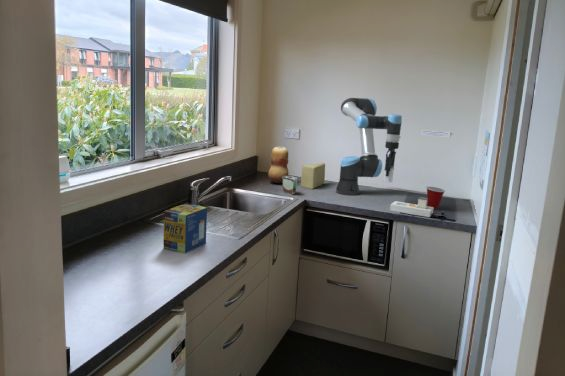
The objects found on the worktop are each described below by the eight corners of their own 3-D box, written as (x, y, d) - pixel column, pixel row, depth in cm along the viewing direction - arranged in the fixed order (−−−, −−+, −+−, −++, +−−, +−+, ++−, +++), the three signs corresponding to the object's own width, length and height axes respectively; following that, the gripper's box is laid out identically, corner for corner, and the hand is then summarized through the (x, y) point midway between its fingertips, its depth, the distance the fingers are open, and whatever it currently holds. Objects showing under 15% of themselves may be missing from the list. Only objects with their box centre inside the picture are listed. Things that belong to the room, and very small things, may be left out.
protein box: (162, 248, 185) (162, 210, 182) (185, 238, 199) (186, 202, 196) (184, 254, 181) (185, 215, 178) (206, 242, 195) (207, 206, 191)
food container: (301, 194, 291) (302, 178, 289) (293, 195, 288) (294, 179, 286) (289, 190, 301) (290, 175, 299) (281, 191, 297) (282, 175, 295)
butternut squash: (271, 185, 312) (273, 148, 307) (265, 181, 324) (267, 145, 319) (291, 185, 317) (293, 148, 312) (283, 181, 329) (286, 145, 324)
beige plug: (416, 213, 262) (418, 198, 260) (417, 212, 265) (419, 196, 264) (424, 215, 260) (426, 199, 258) (425, 213, 264) (427, 198, 262)
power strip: (389, 210, 266) (390, 203, 265) (394, 206, 275) (395, 199, 274) (444, 219, 253) (445, 212, 252) (447, 215, 261) (448, 208, 260)
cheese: (317, 182, 331) (318, 161, 328) (329, 184, 326) (331, 163, 323) (300, 187, 313) (301, 164, 310) (312, 189, 308) (314, 167, 305)
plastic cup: (444, 211, 271) (446, 191, 268) (424, 209, 273) (427, 189, 270) (441, 206, 281) (444, 187, 279) (423, 205, 283) (425, 185, 281)
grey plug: (383, 181, 277) (384, 166, 274) (384, 180, 280) (386, 165, 278) (390, 182, 275) (392, 167, 273) (392, 181, 278) (393, 166, 276)
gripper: (395, 143, 263) (390, 184, 268) (402, 141, 277) (397, 179, 283) (382, 142, 266) (377, 182, 271) (389, 139, 281) (385, 177, 286)
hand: (387, 180), depth 277 cm, fingers closed on grey plug, 4 cm apart
